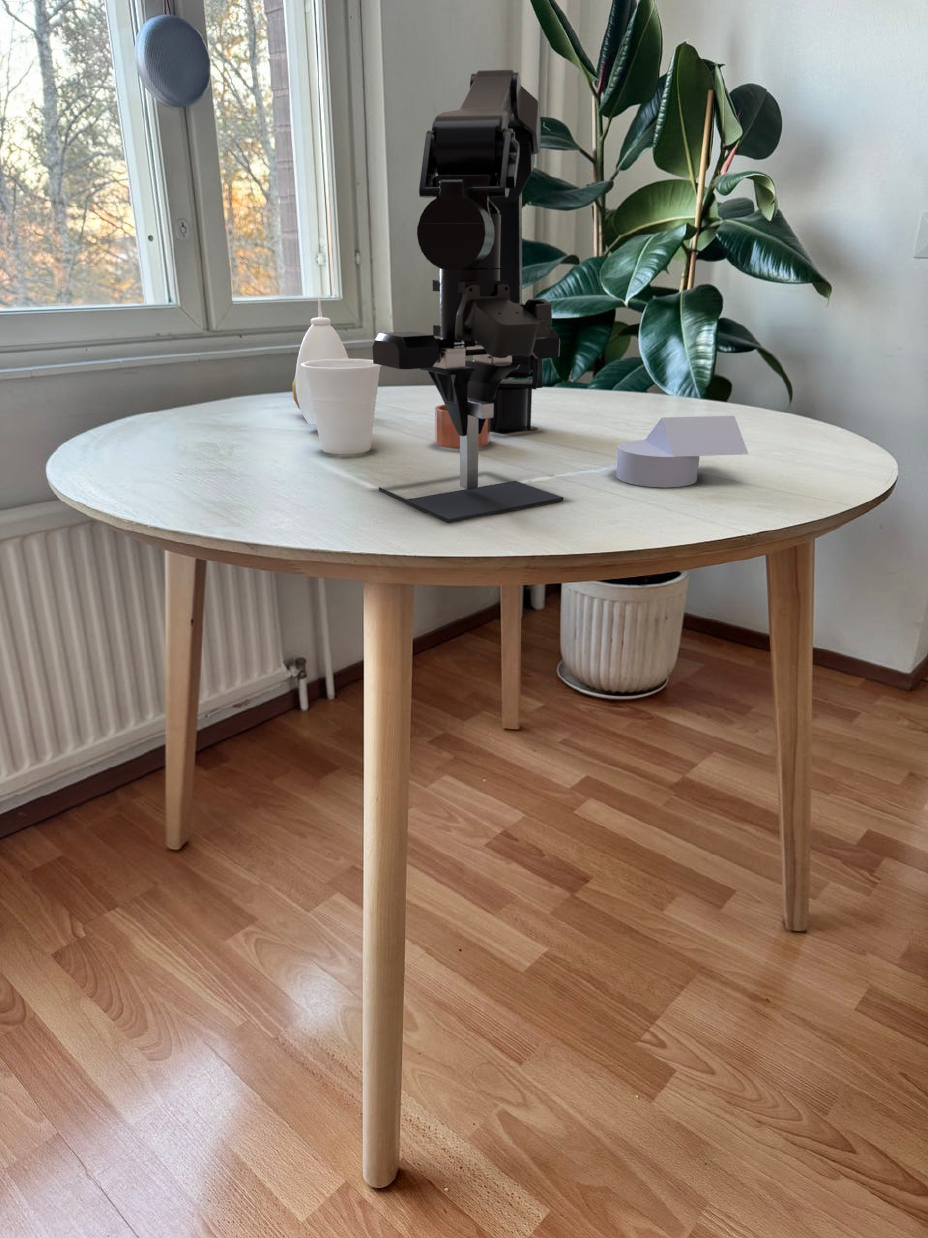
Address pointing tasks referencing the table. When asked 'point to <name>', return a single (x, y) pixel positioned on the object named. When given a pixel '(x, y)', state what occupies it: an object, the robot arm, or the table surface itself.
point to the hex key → (472, 442)
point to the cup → (343, 402)
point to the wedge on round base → (677, 450)
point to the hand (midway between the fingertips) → (469, 434)
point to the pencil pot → (454, 430)
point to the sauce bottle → (316, 357)
